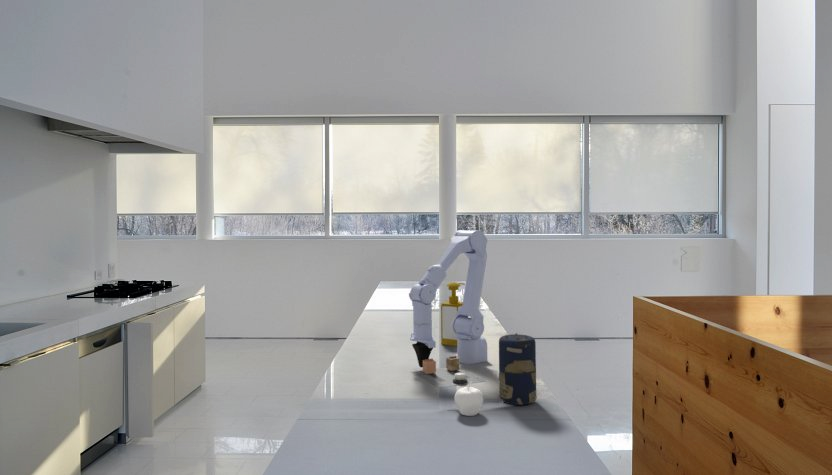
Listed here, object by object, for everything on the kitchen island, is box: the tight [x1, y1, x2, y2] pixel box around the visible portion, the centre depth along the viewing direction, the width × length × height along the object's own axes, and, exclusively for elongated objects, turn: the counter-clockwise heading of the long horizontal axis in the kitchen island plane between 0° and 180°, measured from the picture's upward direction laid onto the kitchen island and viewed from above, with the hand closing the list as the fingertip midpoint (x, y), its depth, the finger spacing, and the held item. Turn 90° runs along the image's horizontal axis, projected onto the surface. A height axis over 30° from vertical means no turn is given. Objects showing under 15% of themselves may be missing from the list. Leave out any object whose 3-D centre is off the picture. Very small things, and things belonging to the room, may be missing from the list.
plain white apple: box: [454, 382, 484, 417], centre depth 145 cm, size 7×7×8 cm
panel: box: [412, 367, 486, 389], centre depth 175 cm, size 15×19×2 cm
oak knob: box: [445, 355, 460, 371], centre depth 182 cm, size 3×3×4 cm
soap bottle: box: [440, 281, 466, 347], centre depth 228 cm, size 7×13×24 cm, turn 148°
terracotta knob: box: [422, 358, 437, 374], centre depth 178 cm, size 3×3×4 cm
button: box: [455, 373, 465, 380], centre depth 169 cm, size 3×3×1 cm
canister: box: [498, 332, 537, 405], centre depth 154 cm, size 10×10×18 cm
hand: (423, 366), depth 183 cm, fingers closed
